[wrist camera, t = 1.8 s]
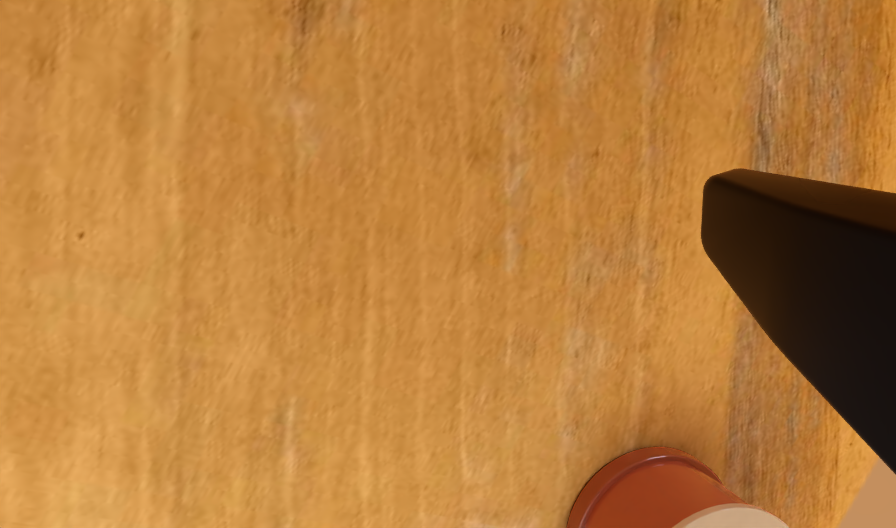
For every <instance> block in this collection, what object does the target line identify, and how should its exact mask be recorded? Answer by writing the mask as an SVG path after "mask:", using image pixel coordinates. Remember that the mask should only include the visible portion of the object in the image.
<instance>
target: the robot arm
mask: <svg viewBox="0 0 896 528" xmlns="http://www.w3.org/2000/svg"><path fill="white" fill-rule="evenodd" d="M701 239H702V244H703V247H704V250H705V252H706V254H707V255H708V257H709V258H710V260H711V261H712V262H713V264H714V265H715V266H716V268H717V269H718V270H719V272H720V273H721V274H722V276H723V277H724V278H725V280H726V281H727V282H728V284H729V285H730V286H731V288H732V289H733V290H734V292H735V293H736V294H737V296H738V297H739V298H740V300H741V301H742V302H743V304H744V305H745V306H746V308H747V309H748V310H749V312H750V313H751V314H752V316H753V317H754V318H755V320H756V321H757V322H758V324H759V325H760V326H761V328H762V329H763V330H764V331H765V333H766V334H767V335H768V336H769V338H770V339H771V340H772V341H773V343H774V344H775V345H776V346H777V347H778V348H779V350H780V351H781V352H782V353H783V354H784V355H785V356H786V357H787V358H788V360H789V361H790V362H791V363H792V364H793V365H794V366H795V367H796V368H797V369H798V370H799V371H800V372H801V374H802V375H803V376H804V377H805V378H806V379H807V380H808V381H809V382H810V383H811V384H812V385H813V386H814V387H815V389H816V390H817V391H818V392H819V393H820V394H821V395H822V396H823V397H824V398H825V399H826V400H827V401H828V402H829V404H830V405H831V406H832V407H833V408H834V409H835V410H836V411H837V412H838V413H839V414H840V415H841V416H842V418H843V419H844V420H845V421H846V422H847V423H848V424H849V425H850V426H851V427H852V428H853V429H854V430H855V431H856V433H857V434H858V435H859V436H860V437H861V438H862V439H863V440H864V441H865V442H866V443H867V444H868V445H869V446H870V448H871V449H872V450H873V451H874V452H875V453H876V454H877V455H878V456H879V457H880V458H881V459H882V460H883V461H884V463H885V464H886V465H887V466H888V467H889V468H890V469H891V470H892V471H893V472H894V473H895V474H896V193H890V192H884V191H878V190H871V189H865V188H859V187H853V186H847V185H840V184H834V183H828V182H822V181H816V180H809V179H803V178H797V177H791V176H785V175H778V174H772V173H766V172H760V171H754V170H747V169H733V170H730V171H727V172H723V173H720V174H717V175H714V176H711V177H710V178H709V179H708V180H707V181H706V183H705V185H704V189H703V204H702V224H701Z"/></svg>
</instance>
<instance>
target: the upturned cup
mask: <svg viewBox="0 0 896 528" xmlns="http://www.w3.org/2000/svg"><path fill="white" fill-rule="evenodd" d="M567 528H789V527H788V526H787V525H786V524H785V523H784V522H783V521H782V520H780V519H779V518H778V517H776V516H775V515H774V514H772V513H770V512H768V511H767V510H765V509H763V508H760V507H757V506H753V505H749V504H747V503H746V502H745V501H743V500H742V499H740V498H739V497H738V496H736V495H735V494H734V493H732V492H731V491H730V490H728V489H727V488H726V487H724V486H723V484H722V482H721V481H720V479H719V478H718V477H717V475H716V474H715V473H714V472H713V471H712V470H711V469H710V468H708V467H707V466H706V465H704V464H703V463H702V462H700V461H699V460H697V459H696V458H695V457H693V456H692V455H690V454H688V453H686V452H684V451H681V450H678V449H674V448H668V447H649V448H642V449H638V450H634V451H632V452H629V453H627V454H624V455H622V456H620V457H618V458H617V459H615V460H613V461H612V462H610V463H609V464H607V465H606V466H604V467H603V468H602V469H601V470H600V471H599V472H598V473H596V474H595V475H594V477H593V478H592V479H591V480H590V481H589V482H588V483H587V485H586V486H585V487H584V489H583V490H582V491H581V493H580V495H579V496H578V498H577V500H576V502H575V504H574V506H573V508H572V511H571V513H570V516H569V520H568V523H567Z"/></svg>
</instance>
